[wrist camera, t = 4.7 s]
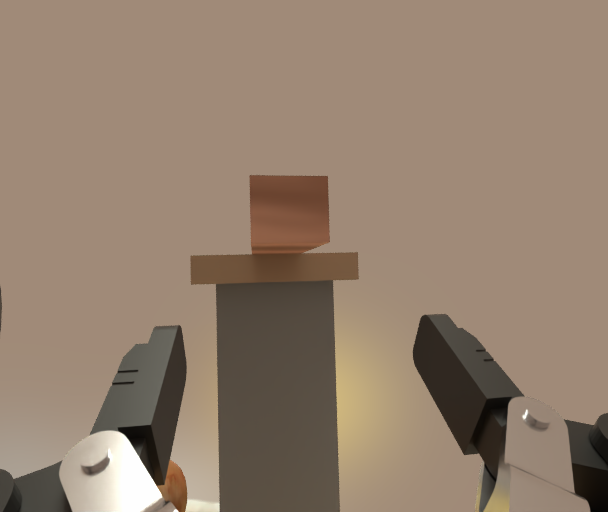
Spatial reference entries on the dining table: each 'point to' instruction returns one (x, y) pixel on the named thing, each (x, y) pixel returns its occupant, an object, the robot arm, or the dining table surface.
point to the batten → (288, 213)
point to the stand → (276, 378)
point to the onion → (174, 487)
